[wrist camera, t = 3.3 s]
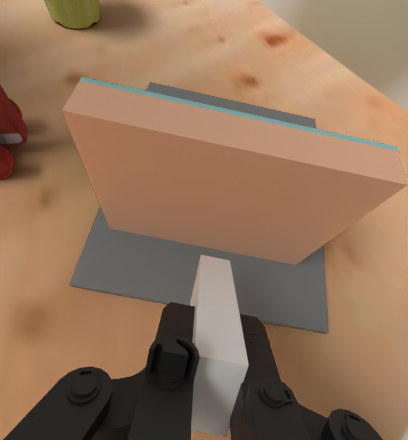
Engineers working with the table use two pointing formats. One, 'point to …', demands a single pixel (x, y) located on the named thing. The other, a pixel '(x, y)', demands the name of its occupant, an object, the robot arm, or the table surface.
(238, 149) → the terracotta tile
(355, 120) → the table surface
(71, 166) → the table surface
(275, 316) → the rubber mat
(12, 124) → the toy fire truck
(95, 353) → the table surface
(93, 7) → the plant pot
